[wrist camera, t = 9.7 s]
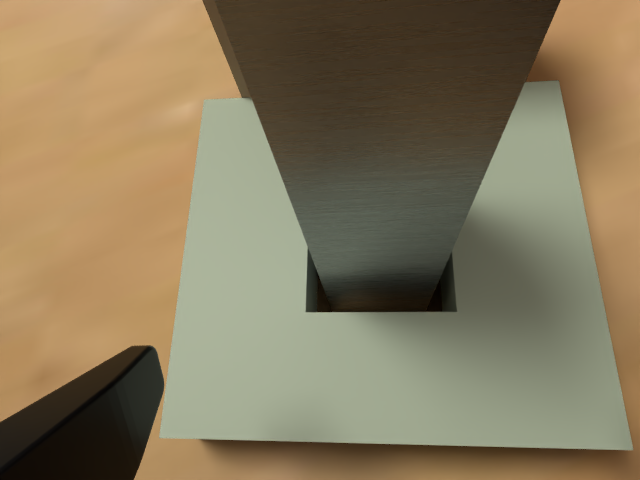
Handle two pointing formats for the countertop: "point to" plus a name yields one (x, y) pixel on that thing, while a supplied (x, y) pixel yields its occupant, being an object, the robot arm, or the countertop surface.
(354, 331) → the square holed base
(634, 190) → the countertop surface
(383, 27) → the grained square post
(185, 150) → the countertop surface
